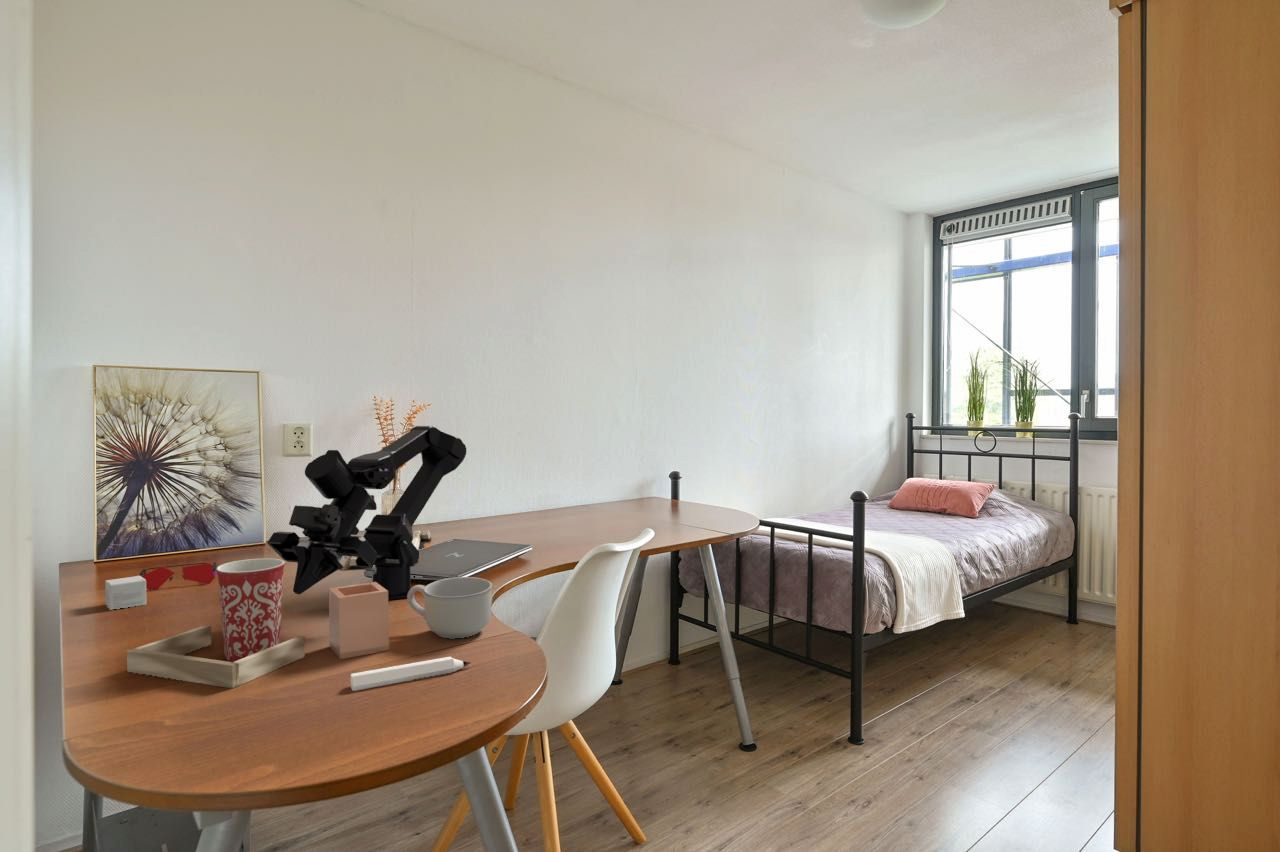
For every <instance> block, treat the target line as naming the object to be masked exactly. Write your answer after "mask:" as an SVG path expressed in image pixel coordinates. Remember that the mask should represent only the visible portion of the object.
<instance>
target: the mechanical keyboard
mask: <svg viewBox="0 0 1280 852" xmlns="http://www.w3.org/2000/svg"><path fill="white" fill-rule="evenodd" d="M412 532H413V540H412V543H413V545H414V546H415V547H416V548H417V550H419V549H422V548H425V547H427V546H430V547H431V546H432V537H431V536H432V534H431V532H430V530H429V529H425V530H423V531H420V530H416V531H412ZM357 558H358V557H354V556H350V558H349V561H348V565H349V567H347V571H354V570H355V571H357V570H366V569H365V568H361V567H358V566H357V564H356V562H355V561H356V559H357Z"/></svg>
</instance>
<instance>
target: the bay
mask: <svg viewBox="0 0 1280 852" xmlns="http://www.w3.org/2000/svg"><path fill="white" fill-rule="evenodd" d="M208 645H209V646H212V625H210V624H209V625H208V624H205V625H202V626H199V627H195V628H193V629H189V630H187V631H184V632H181V633H177V634H174V635H171V636H169V637H165V638H162V639H159V640H156V641H154V642H150V643H148V644H147V643H146V644H144V645H141V646H137V647H135V648H131V649H128V650H126V665H127V666H126V669H127V670H126V671H128V672H127V673H129V672H133V673H132V674H136V673H138V674H137V675H142V674H146V675H145V676H149V675H152V676H151V677H155V676H157V677H156V678H162V677H163V678H164V679H168V678H170V680H175V679H176V680H177V681H181V680H182V682H190V683H195V684H201V683H202V685H210V686H216V687H222V688H229V689H234V688H237V687H239V686H241V685H244V684H246V683H248V682H250V681H253V680H255V679H258V678H260V677H261V676H264V675H267V674H269V673H271V672H274V671H275V670H277V669H280V668H282V667H284V666H287V665H289V664H291V663H294V662H296V661H298V660H300V659H303V658H305V655H306V653H305V636H300V635H298V636H295V637H293V638H290V639H288V640H285V641H283V642H280V644H277V645H275V646H272V647H270V648H267V649H265V650H262V651H260V652H257V653H255V654H252V655H250V656H247V657H245V658H242V659H240V660H237V661H235V662H233V661H228V660H218V659H211V658H205V657H204V658H203V657H199V656H198V657H197V656H192V655H186V653H187V654H190V653H192V651H193V652H195V651H198V650H201V649H203V648H202V647H204V648H206V647H209V646H208ZM205 646H206V647H205ZM200 648H201V649H200ZM197 649H198V650H197ZM189 652H190V653H189ZM183 654H184V655H183ZM176 680H175V681H176Z"/></svg>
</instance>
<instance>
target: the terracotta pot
mask: <svg viewBox="0 0 1280 852" xmlns="http://www.w3.org/2000/svg"><path fill="white" fill-rule="evenodd" d="M389 613H390V612H389V599H388V591H387V590H386V589H385V588H383V587H382V586H381V585H379V584H378V583H377V582H372V581H371V582H366V583H357V584H351V585H343V586H337V587H329V588H328V615H329V616H328V617H329V619H328V622H329V648H330V649H331V650H332V651H333V653H334V654H335V655H336V656H337V657H338V659H339V660H346V659H350V658H355V657H360V656H365V655H369V654H375V653H376V654H377V653H382V652H386V651H389V650H390V631H389V630H390V626H389V624H390V623H389V618H390V615H389Z"/></svg>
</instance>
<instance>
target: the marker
mask: <svg viewBox="0 0 1280 852" xmlns="http://www.w3.org/2000/svg"><path fill="white" fill-rule="evenodd" d="M471 664H472V662H469V661H465V660H460V659H456V658H453V657H452V656H446V657H445V656H444V657H440V658H433V659H429V660H428V659H427V660H423V661H418V662H417V661H416V662H412V663H407V664H406V663H405V664H399V665H394V666H388V667H383V668H377V669H370V670H366V671H365V670H364V671H359V672H354V673H350V688H351V690H352V692H355V691H356V692H357V691H360V690H361V691H362V690H367V689H371V688H376V687H382V686H389V685H393V683H394V684H397V683H398V684H399V683H403V682H404V681H405V682H409V681H414V679H416V680H420V679H419V678H421V679H425V678H424V677H426V678H431V677H430V676H432V677H437V676H442V675H441V674H443V675H447V673H448V674H452V672H453V673H454V672H457V671H458V670H460V669H461V668H465V667H467V666H469V665H471ZM436 675H437V676H436Z"/></svg>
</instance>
